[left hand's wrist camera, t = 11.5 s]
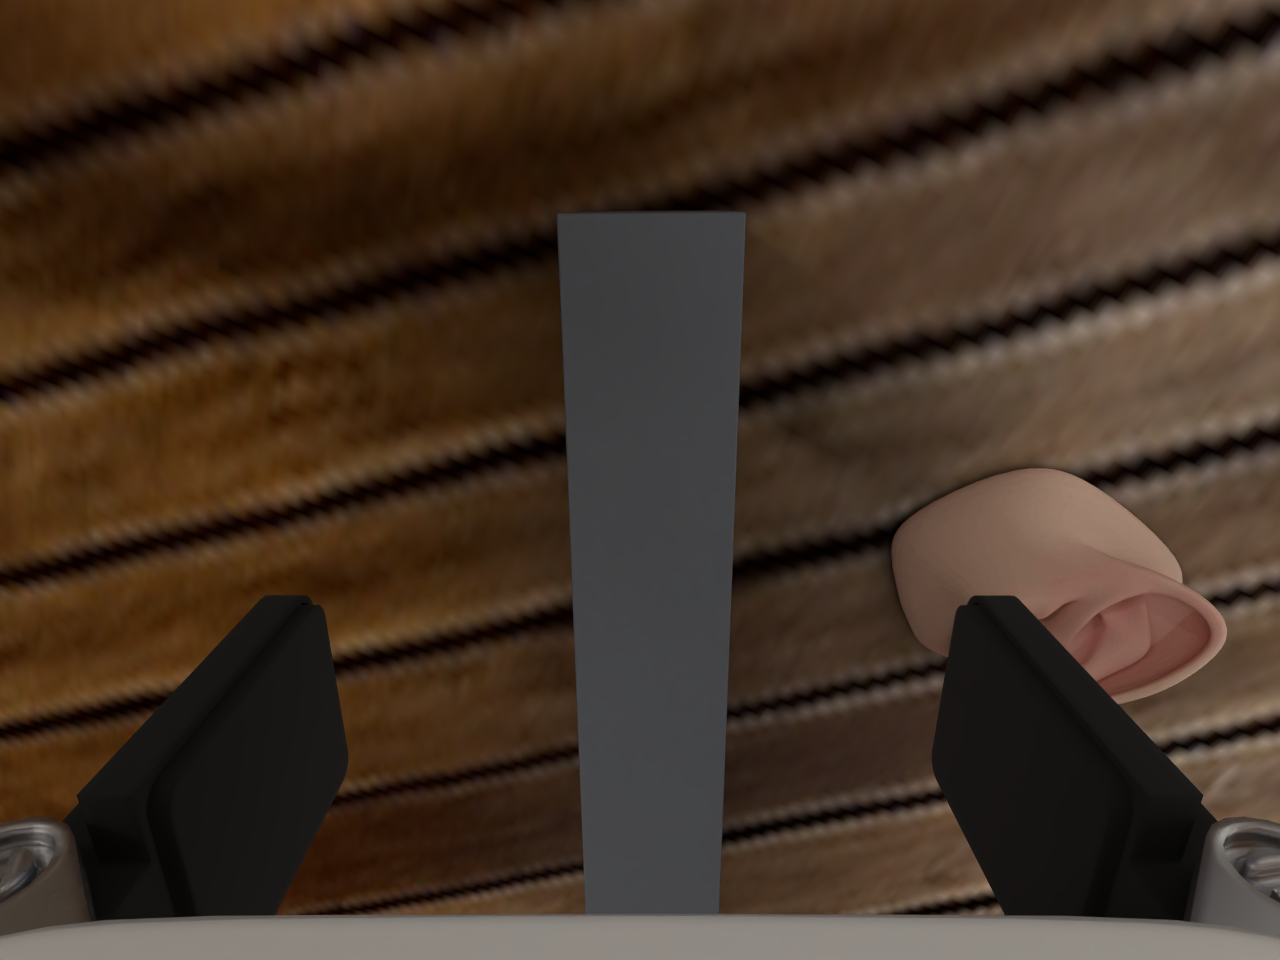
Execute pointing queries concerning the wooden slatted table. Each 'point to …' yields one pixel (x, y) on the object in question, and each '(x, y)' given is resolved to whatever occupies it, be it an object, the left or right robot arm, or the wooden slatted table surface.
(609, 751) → the beam
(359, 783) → the wooden slatted table surface
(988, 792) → the left robot arm
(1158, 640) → the anatomical model
